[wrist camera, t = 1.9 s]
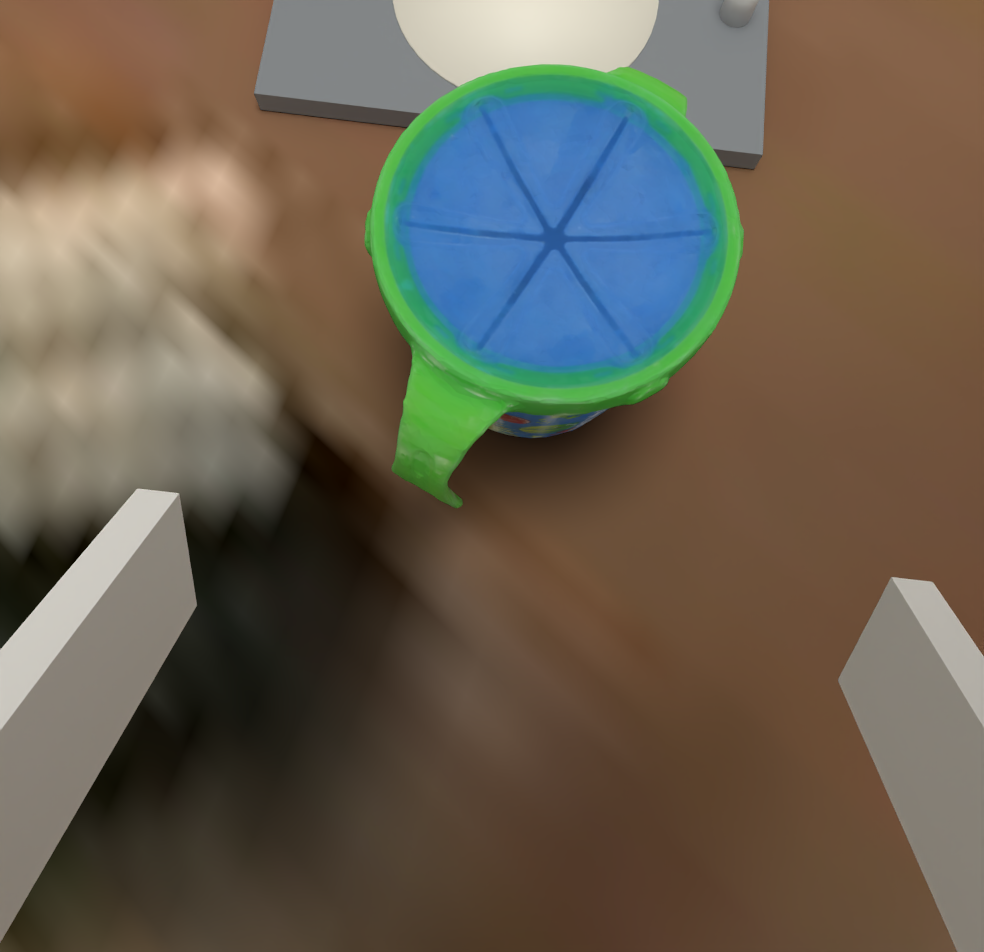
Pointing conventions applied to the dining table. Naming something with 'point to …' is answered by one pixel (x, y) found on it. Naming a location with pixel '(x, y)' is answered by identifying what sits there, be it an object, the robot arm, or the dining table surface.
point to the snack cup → (546, 255)
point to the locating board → (516, 55)
